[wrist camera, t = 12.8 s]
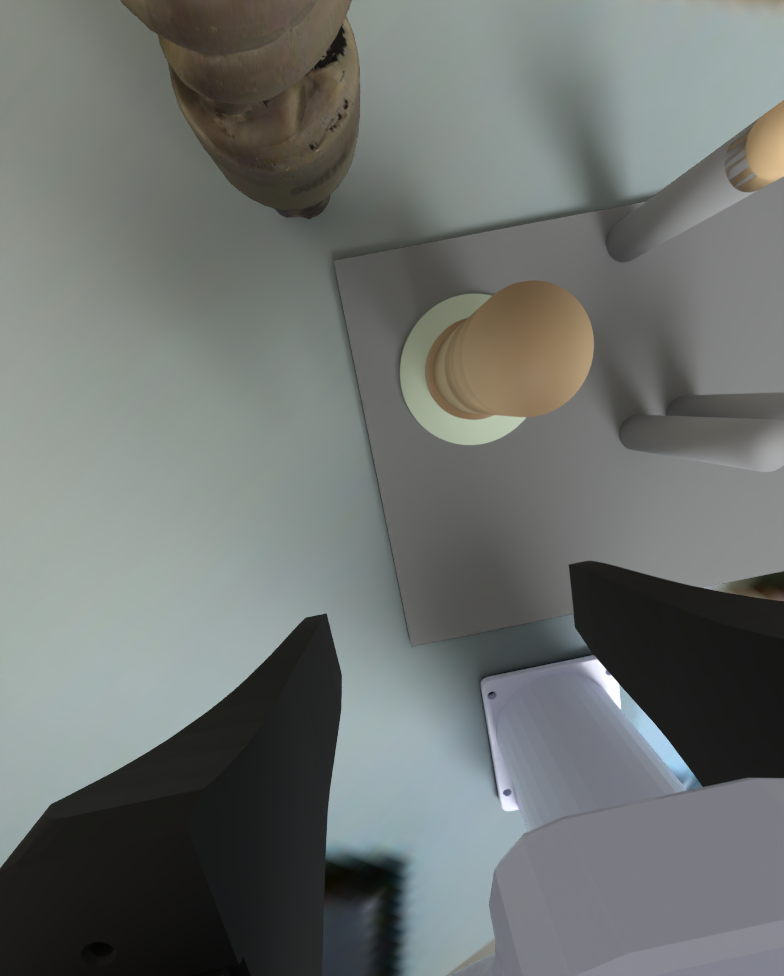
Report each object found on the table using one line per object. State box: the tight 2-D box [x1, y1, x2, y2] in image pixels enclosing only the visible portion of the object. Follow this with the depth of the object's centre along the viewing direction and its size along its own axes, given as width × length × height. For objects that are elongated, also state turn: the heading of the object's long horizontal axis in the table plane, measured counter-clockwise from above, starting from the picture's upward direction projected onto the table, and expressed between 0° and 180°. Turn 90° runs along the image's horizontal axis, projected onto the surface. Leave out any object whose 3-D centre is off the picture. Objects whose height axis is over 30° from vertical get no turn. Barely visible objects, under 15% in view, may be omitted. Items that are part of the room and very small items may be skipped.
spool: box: [425, 280, 594, 420], centre depth 16 cm, size 5×5×7 cm
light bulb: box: [121, 0, 360, 219], centre depth 10 cm, size 6×6×15 cm
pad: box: [400, 294, 526, 445], centre depth 19 cm, size 7×7×1 cm
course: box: [334, 101, 784, 647], centre depth 17 cm, size 20×27×8 cm
